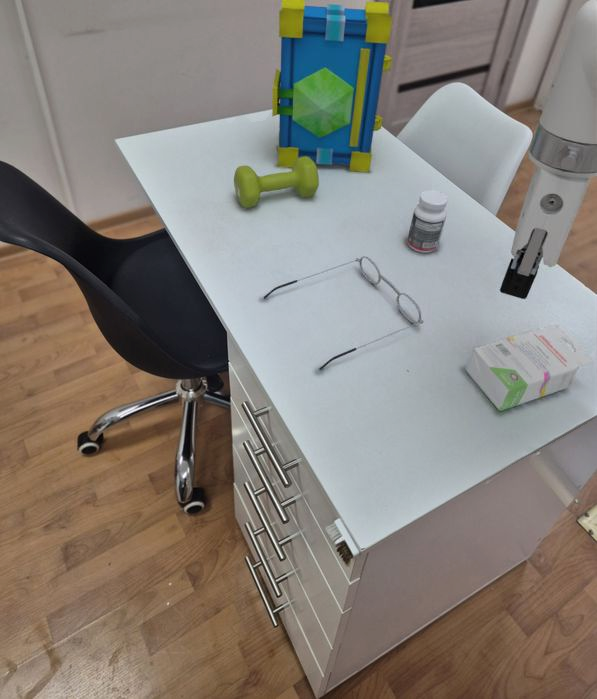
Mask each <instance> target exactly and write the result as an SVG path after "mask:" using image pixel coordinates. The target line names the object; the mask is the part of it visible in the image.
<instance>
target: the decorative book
mask: <svg viewBox="0 0 597 699" xmlns="http://www.w3.org/2000/svg"><path fill="white" fill-rule="evenodd" d="M389 4H390V3H389V2H381V1H367V0H366V1H365V8H364V9H363V8H362V9H360V8H345V6H346V5H345V4H335V3H326V6H316V5H315V6H313V5H306V0H281V9H279V10H278V12H279V14H278V21H279V22H278V37H280V39H281V40H280V41H281V42H280V43H281V44H280V70H279V69H277V68H276V69H275V74H274V79H273V84H272V106H271V107H272V108H271V109H272V110H271V111H272V112H271V114H272V116H271V117H276V116H278V115H279V127H278V128H279V129H278V145H277V146H278V147H277V167H279V168H293V165H294V163H295V161H296V160H297V159H298V158H299V157H303V156H307V157H309V158H311V159H312V161H313V162H314V163H315V164H316V165H327V166H331V165H345V166H346V165H348V166H349V172H359V173H370V169H371V162H372V155H373V150H372V144H373V138H374V132H378V131H379V130H381V129H382V124H383V120H384V119H383V117H381V116H380V115H378V114H377V111H378V105H379V104H378V103H379V96H380V90H381V83H382V78H383V77H382V76H383V73H387V72H390V70H391V69H392V62H393V57H391V56H389V55H388V54H386V50H387V44H388V45H389V42H390V37H391V31H392V24H393V16H389V14H390V13H389V12H390V11H389V9H390V8H389Z"/></svg>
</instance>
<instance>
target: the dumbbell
mask: <svg viewBox="0 0 597 699" xmlns="http://www.w3.org/2000/svg"><path fill="white" fill-rule="evenodd" d="M233 185H234V193H235V196H236V199H237V200H238V202H239V203H240V205H241V206H242V207H243V208H245V209H249V208H253V207H255V206H256V205H258V203H259V200H260V197H261V194H262V193H266V192H269V193H270V192H274V191H281V190H286V189H290V188H294V189H295V191H296V192H297V194H298V195H299V196H301V197H302V198H311V197H313V196H315V194H316V192H317V191H318V189H319V185H320V177H319V170H318V166H317V164H316V163H314V162H313V161H312V159H311V158H309V157H307V156H303V157H299V158H298V159H297V160H296V161H295V163H294V165H293V167H291V171H287V172H277V173H276V172H275V173H269V174H266V175H261V176H259V175H258V174H257V173H256V172H255V170H254V168H252V167H251V166H249V165H239V166H237V167H236V168H235V171H234V176H233Z"/></svg>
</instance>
